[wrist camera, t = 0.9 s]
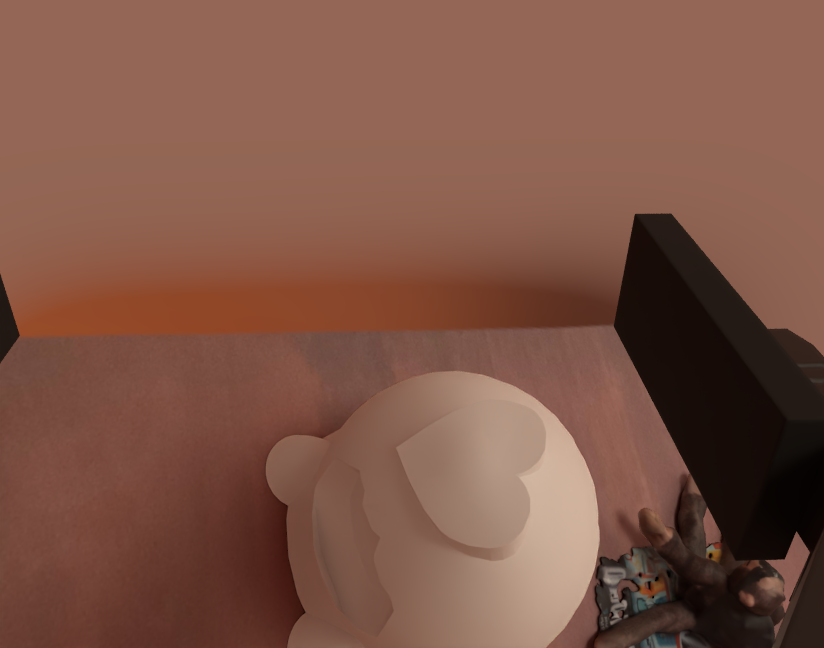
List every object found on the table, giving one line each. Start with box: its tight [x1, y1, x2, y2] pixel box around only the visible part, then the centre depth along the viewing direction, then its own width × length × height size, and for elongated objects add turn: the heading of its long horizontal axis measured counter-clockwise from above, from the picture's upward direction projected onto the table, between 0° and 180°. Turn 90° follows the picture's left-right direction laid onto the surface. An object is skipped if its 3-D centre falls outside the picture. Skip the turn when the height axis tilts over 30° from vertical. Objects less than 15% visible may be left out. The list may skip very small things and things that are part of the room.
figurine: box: [266, 371, 599, 648], centre depth 28 cm, size 11×11×15 cm
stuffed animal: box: [594, 474, 785, 648], centre depth 43 cm, size 12×10×12 cm
